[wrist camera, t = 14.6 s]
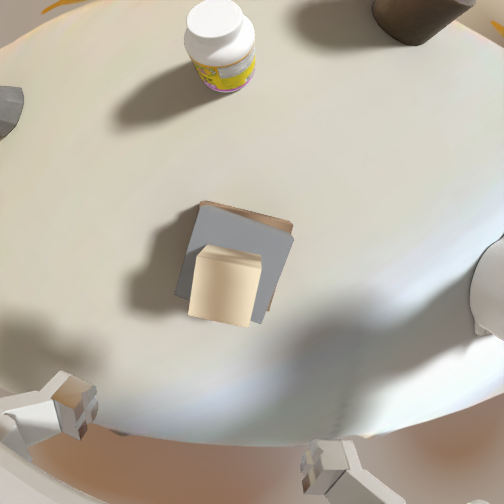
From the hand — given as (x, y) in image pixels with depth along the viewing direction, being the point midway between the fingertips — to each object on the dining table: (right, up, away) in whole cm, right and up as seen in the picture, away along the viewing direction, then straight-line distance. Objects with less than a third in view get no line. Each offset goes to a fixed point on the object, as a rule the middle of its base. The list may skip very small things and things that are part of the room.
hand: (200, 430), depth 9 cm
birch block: (0, +4, +19) cm, 19 cm away
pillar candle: (+24, +40, +19) cm, 50 cm away
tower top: (0, +6, +22) cm, 23 cm away
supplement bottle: (-1, +28, +22) cm, 35 cm away
